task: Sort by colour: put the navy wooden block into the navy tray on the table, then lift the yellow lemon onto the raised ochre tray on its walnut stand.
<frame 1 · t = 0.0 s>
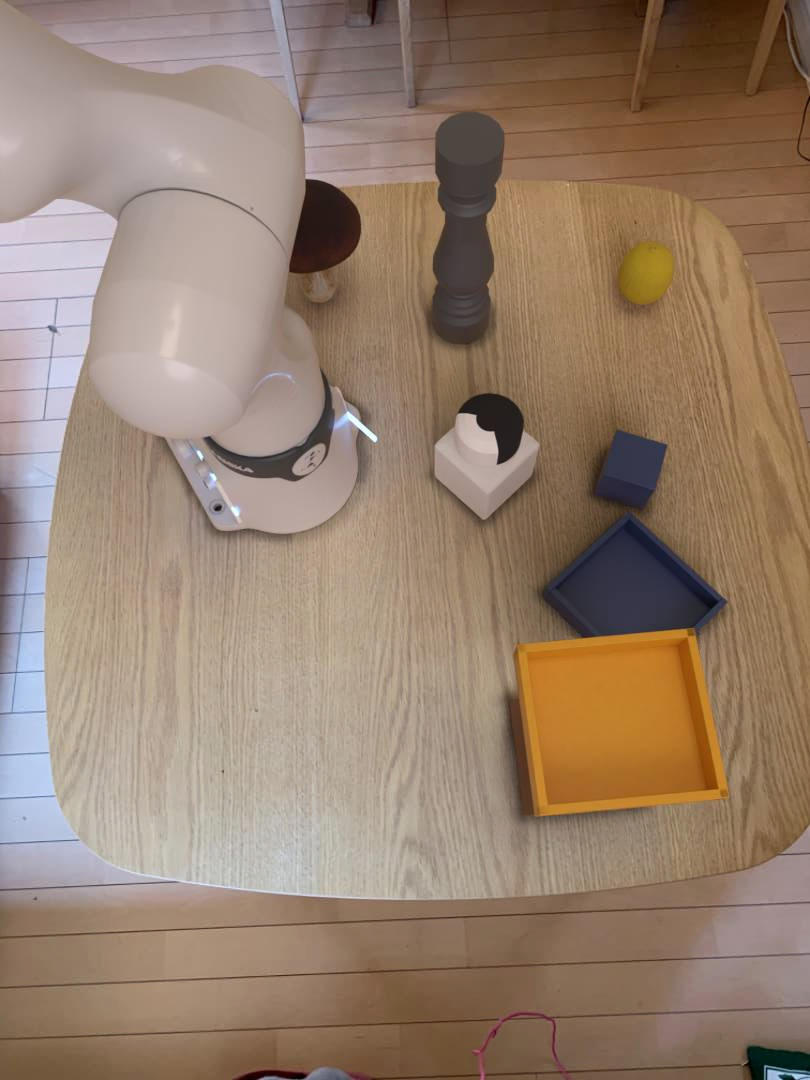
decorative mushroom: (320, 295, 94), on the table
navy block: (624, 480, 85), on the table
ochre tray: (610, 724, 59), on the table
navy tray: (629, 603, 81), on the table
lemon: (636, 298, 93), on the table
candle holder: (460, 321, 92), on the table
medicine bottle: (482, 476, 86), on the table
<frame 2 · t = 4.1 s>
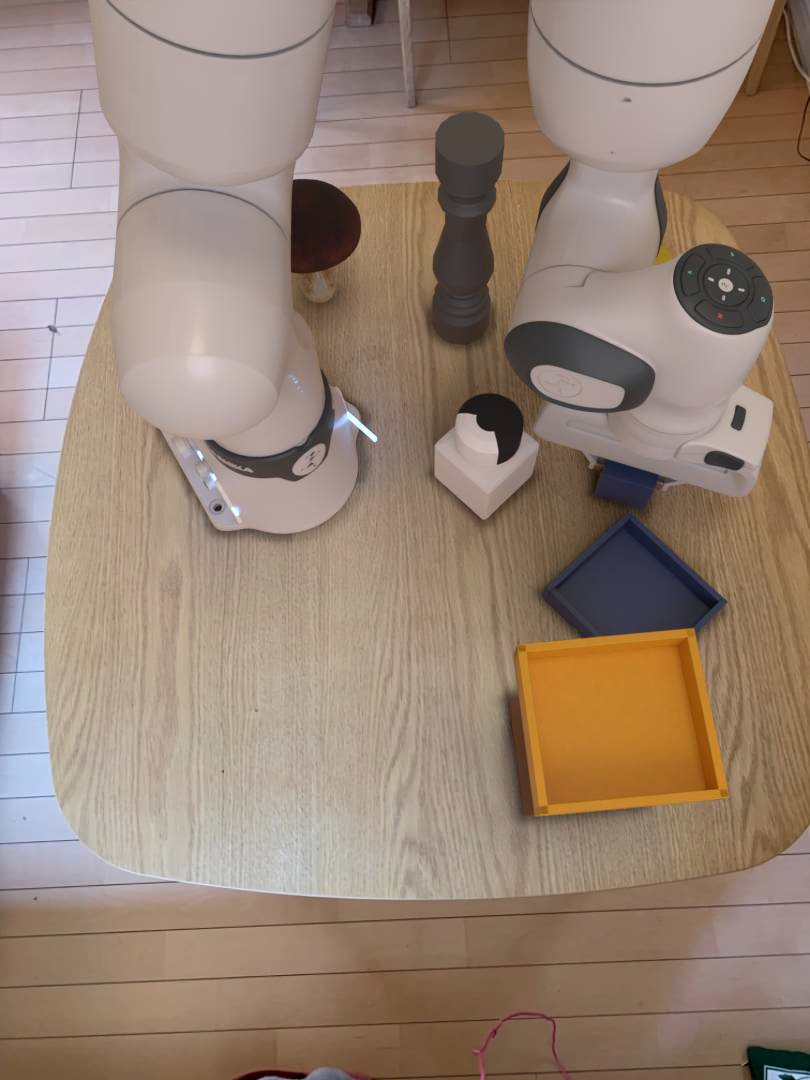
hand: (628, 473, 83), 2 cm above the table, tool pointing down, fingers closed on navy block, 5 cm apart
navy block: (624, 480, 85), on the table, touching gripper
everything else where it was.
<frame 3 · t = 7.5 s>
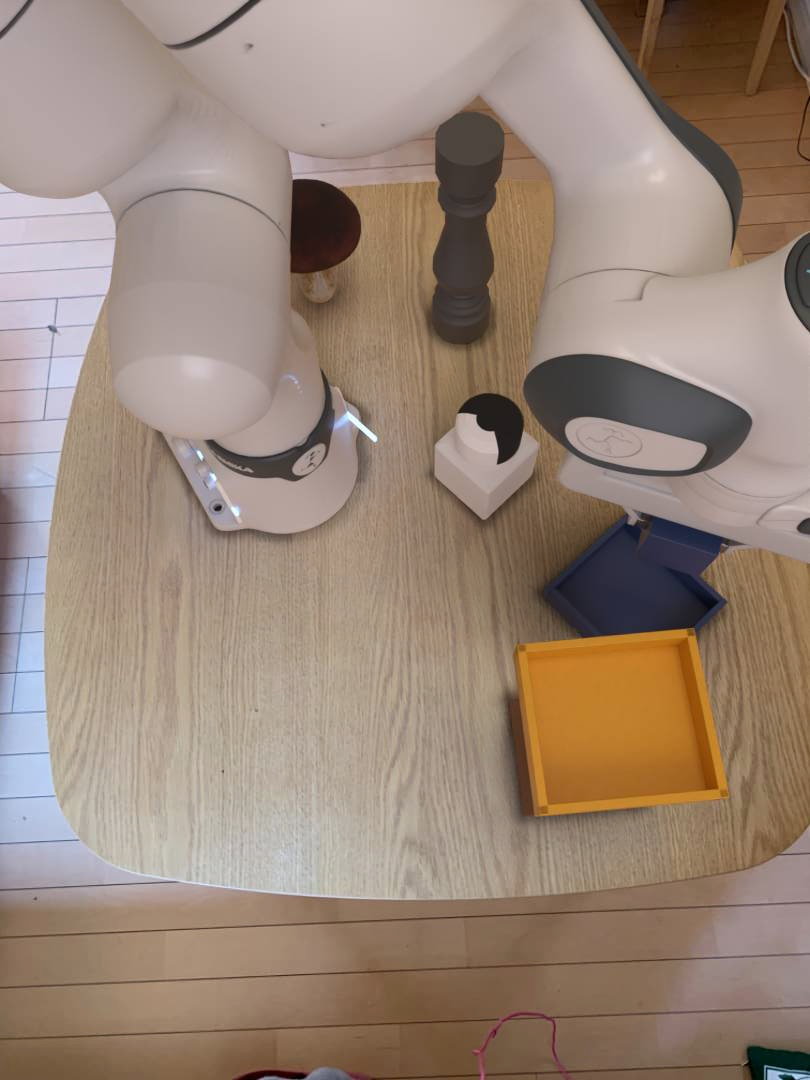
hand: (680, 531, 64), 18 cm above the table, tool pointing down, fingers closed on navy block, 5 cm apart
navy block: (673, 538, 66), point 16 cm above the table, touching gripper
everything else where it was.
when the fingers open (2 cm above the table, at t = 11.3 s): navy block stays where it is, resting on navy tray.
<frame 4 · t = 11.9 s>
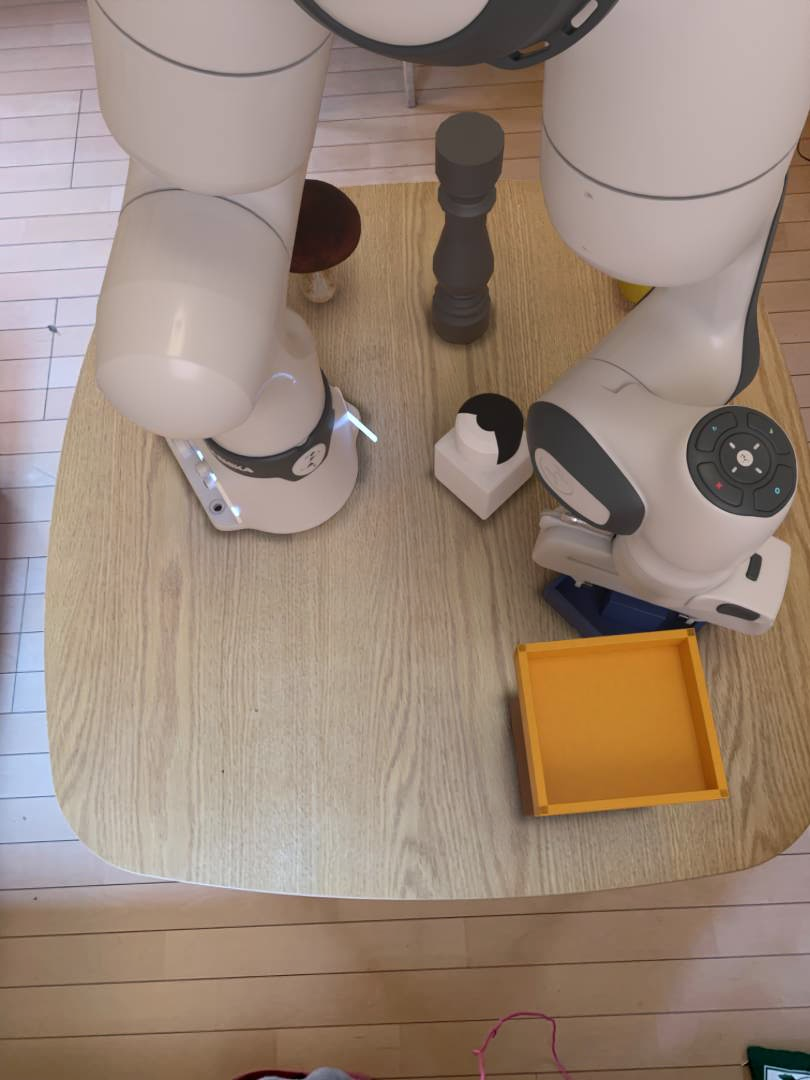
hand: (633, 597, 78), 2 cm above the table, tool pointing down, fingers open, 8 cm apart
navy block: (632, 599, 80), resting on navy tray
everything else where it was.
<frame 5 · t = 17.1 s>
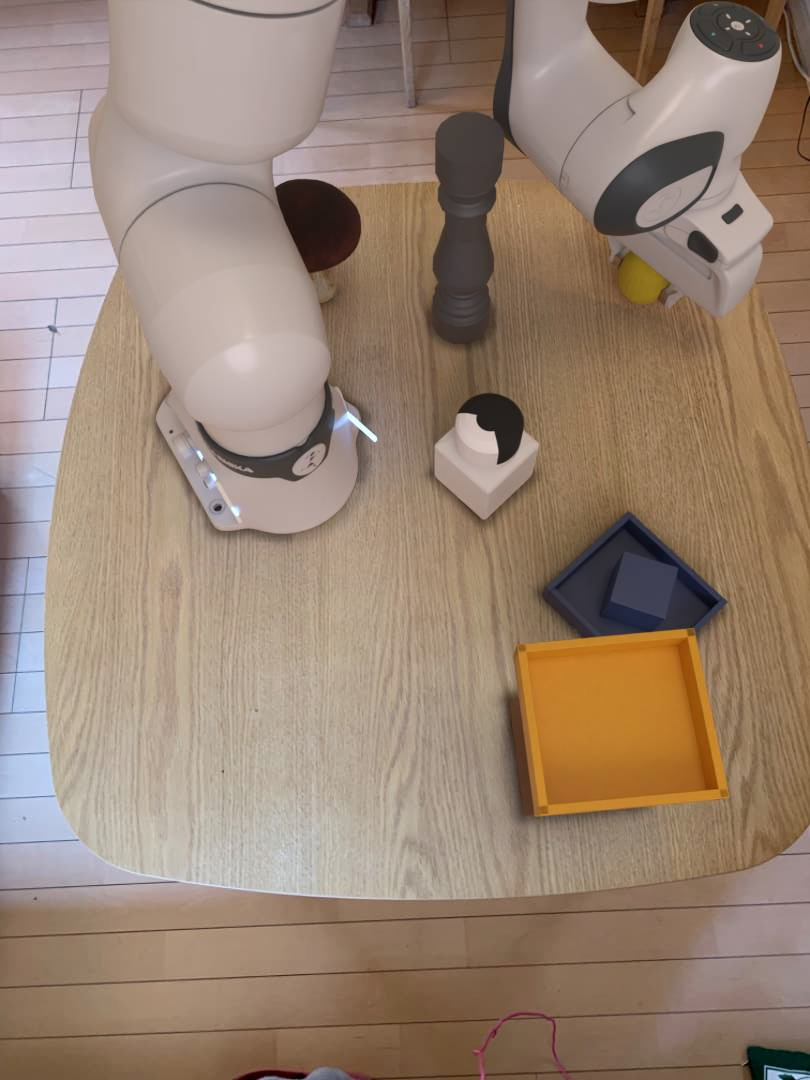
hand: (643, 281, 90), 3 cm above the table, tool pointing down, fingers closed on lemon, 5 cm apart
lemon: (636, 298, 93), on the table, touching gripper
everything else where it was.
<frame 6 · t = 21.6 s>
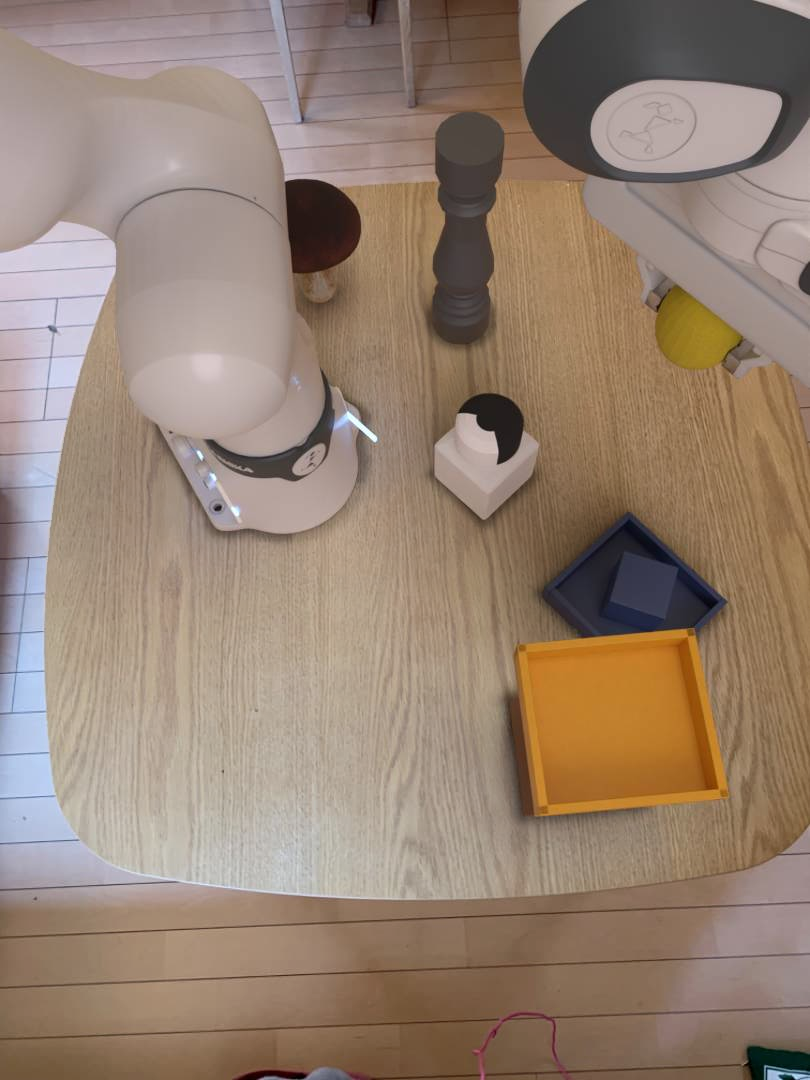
hand: (695, 334, 55), 31 cm above the table, tool pointing down, fingers closed on lemon, 5 cm apart
lemon: (683, 357, 58), point 28 cm above the table, touching gripper
everything else where it was.
when the fingers open (21 cm above the table, at t = 26.1 s): lemon stays where it is, resting on ochre tray.
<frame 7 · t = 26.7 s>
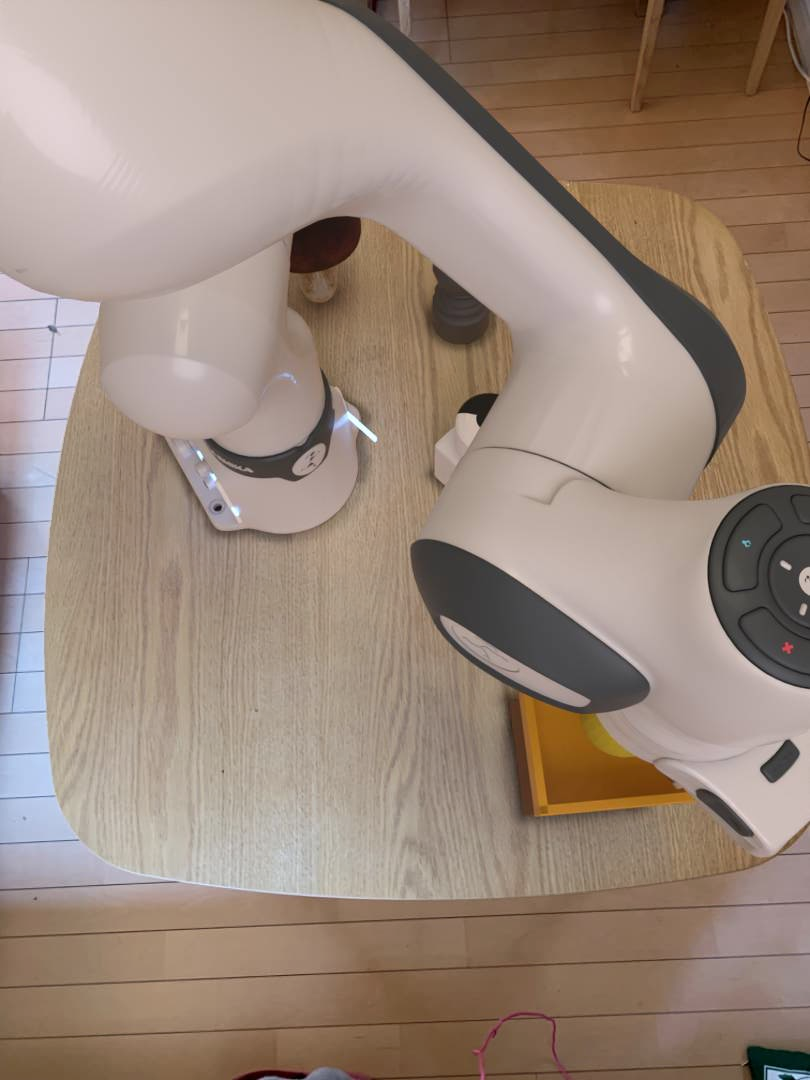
hand: (622, 716, 56), 22 cm above the table, tool pointing down, fingers open, 8 cm apart
lemon: (611, 722, 59), point 18 cm above the table, touching ochre tray
everything else where it was.
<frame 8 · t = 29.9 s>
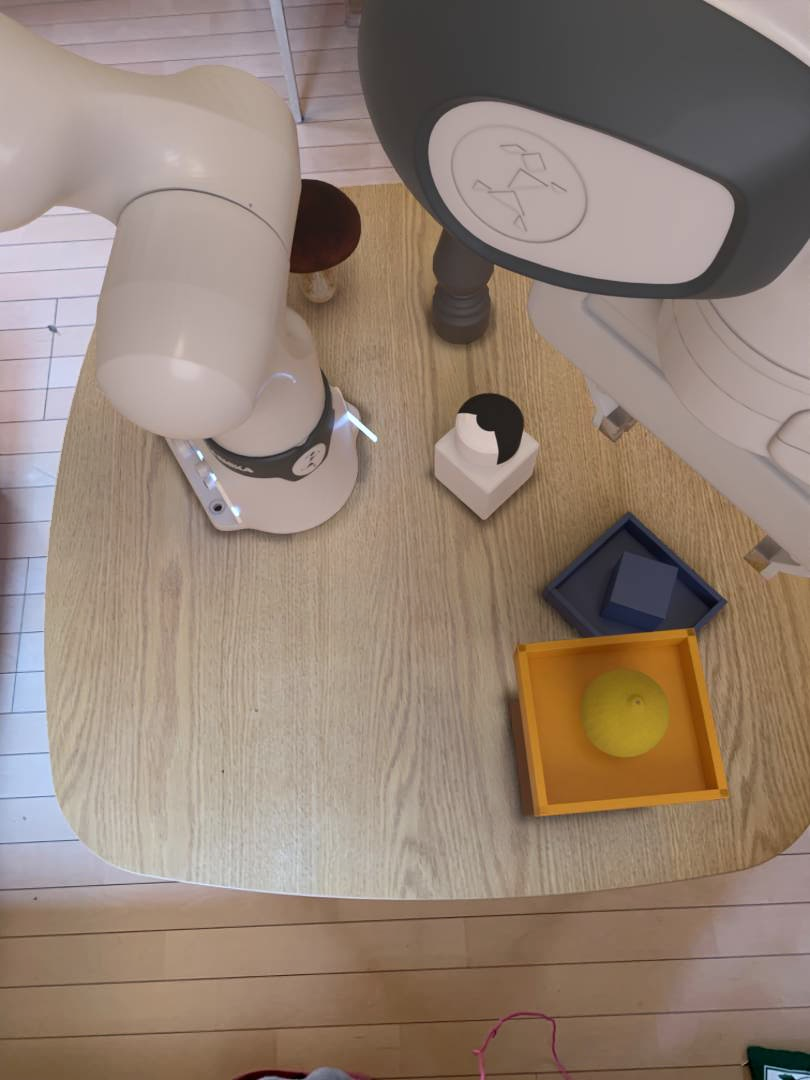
hand: (686, 490, 40), 41 cm above the table, tool pointing down, fingers open, 8 cm apart
nothing on the table moved.
at the end: navy block inside the target area in the navy tray (0.3 cm from its centre), point 0.5 cm above the navy tray's base; lemon inside the target area on the ochre tray (0.1 cm from its centre), point 0.4 cm above the ochre tray's base; the gripper is holding nothing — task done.
